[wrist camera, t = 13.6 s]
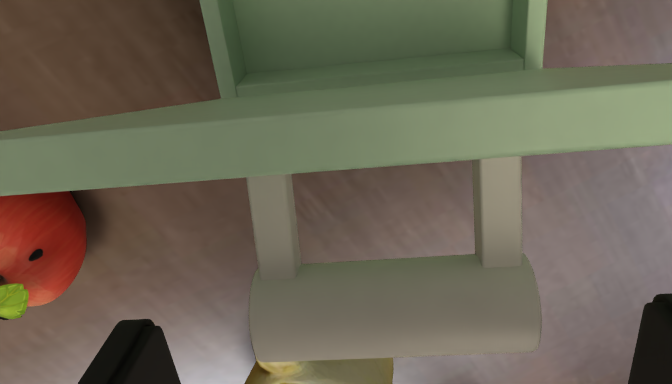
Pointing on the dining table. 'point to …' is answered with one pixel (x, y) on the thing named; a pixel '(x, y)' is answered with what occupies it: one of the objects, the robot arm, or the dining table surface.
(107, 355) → the robot arm
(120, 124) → the lid
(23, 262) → the apple
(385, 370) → the mug
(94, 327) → the dining table surface
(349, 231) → the dining table surface
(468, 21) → the green tray box
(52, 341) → the dining table surface
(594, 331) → the dining table surface
